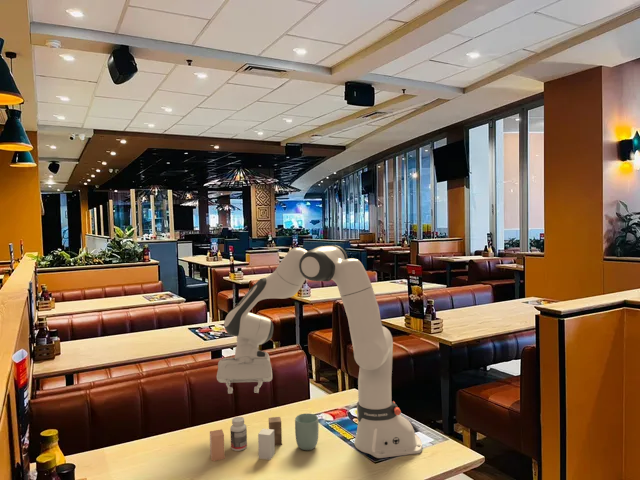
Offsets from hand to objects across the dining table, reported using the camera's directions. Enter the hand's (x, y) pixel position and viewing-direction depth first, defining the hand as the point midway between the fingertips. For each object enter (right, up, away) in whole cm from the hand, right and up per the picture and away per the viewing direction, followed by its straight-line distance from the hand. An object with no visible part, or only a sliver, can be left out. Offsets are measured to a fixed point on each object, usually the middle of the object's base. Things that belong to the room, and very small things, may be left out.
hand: (243, 392), depth 170 cm
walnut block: (+12, -15, -7) cm, 21 cm away
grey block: (+10, -15, -16) cm, 25 cm away
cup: (+23, -15, -11) cm, 30 cm away
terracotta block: (-6, -16, -17) cm, 23 cm away
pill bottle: (0, -15, -10) cm, 19 cm away
